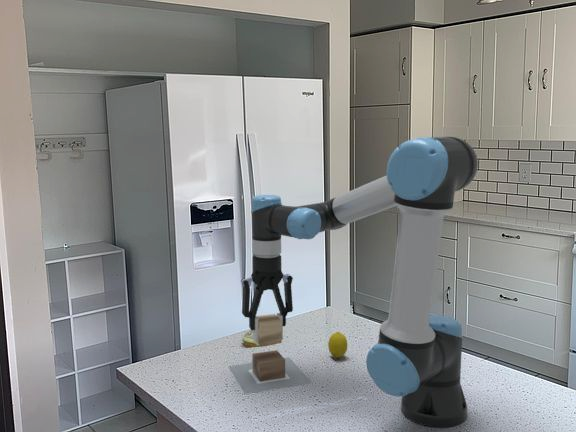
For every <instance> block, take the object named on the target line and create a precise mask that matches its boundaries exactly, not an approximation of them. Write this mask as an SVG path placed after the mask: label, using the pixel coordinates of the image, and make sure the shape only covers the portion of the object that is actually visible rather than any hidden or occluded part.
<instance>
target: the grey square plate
mask: <svg viewBox="0 0 576 432" xmlns="http://www.w3.org/2000/svg"><path fill="white" fill-rule="evenodd" d="M283 358H284V359H285V378H279V379H273V380H267V381H261V382H260V381H259V379H258V378H257V376H256V375H255V374H254V372H253V362H248V363H247V362H246V363H242V364H236V365H228V366H227V367H228V368H229V370H230V372H231V373H232V375H233V377H234V378H235V379H236V382H237V383H238V385H239V386H240V388H241V390H242V391H243V393H244V394H245V395H248V394H254V393H260V392H261V393H262V392H266V391H271V390H272V391H273V390H279V389H285V388H291V387H297V386H303V385H309V384H313V382H312V381H311V380H310V378H309V377H308V376H307V375H306V374H305V373H304V372H303V370H301V368H300V367H299V366H298V364H296V363H295V361H293V359H292V358H291V357H289V356H288V357H283Z"/></svg>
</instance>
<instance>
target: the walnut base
mask: <svg viewBox="0 0 576 432" xmlns="http://www.w3.org/2000/svg"><path fill="white" fill-rule="evenodd" d="M251 356H252V357H251V358H252V363H253V372H254V374H255V375H256V376H257V378H258V379H259V381H260V382H261V381H267V380H273V379H279V378H285V359H284V358H285V357H284V356H283V355H282V354H281V352H279V351H278V349H275V350H269V351H261V352H253V353H252V355H251Z"/></svg>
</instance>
